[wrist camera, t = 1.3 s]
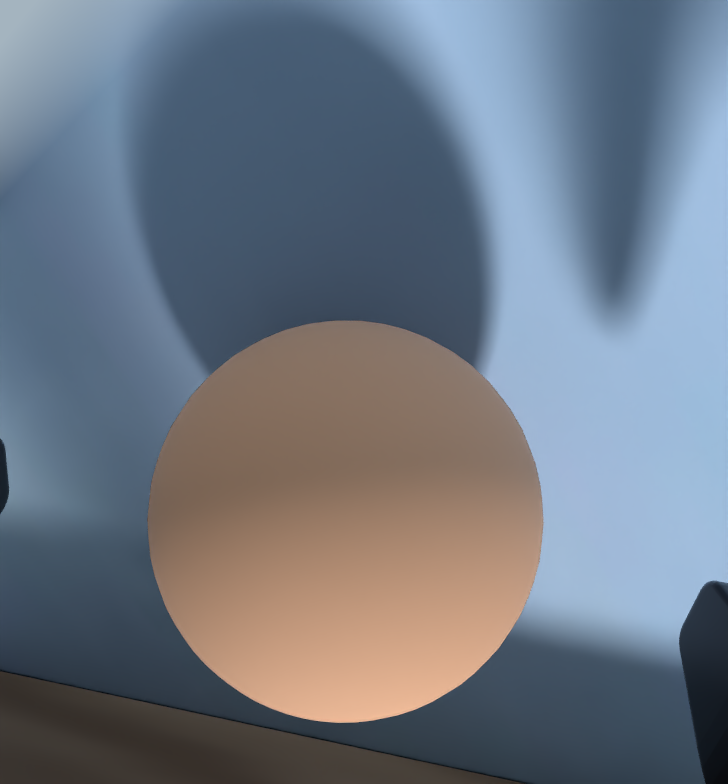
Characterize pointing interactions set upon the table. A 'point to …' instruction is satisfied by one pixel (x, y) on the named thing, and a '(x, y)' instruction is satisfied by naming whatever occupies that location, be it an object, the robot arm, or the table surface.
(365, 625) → the ball
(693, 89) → the table surface
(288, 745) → the brown wooden open box
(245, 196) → the table surface
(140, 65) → the table surface
